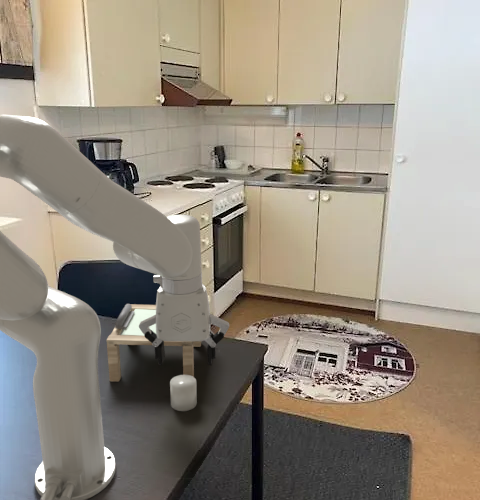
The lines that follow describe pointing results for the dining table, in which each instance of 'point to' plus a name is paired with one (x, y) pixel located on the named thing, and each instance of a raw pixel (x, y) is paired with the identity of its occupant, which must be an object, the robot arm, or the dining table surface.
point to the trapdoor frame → (118, 339)
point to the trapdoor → (133, 320)
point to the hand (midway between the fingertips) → (186, 361)
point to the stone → (183, 392)
